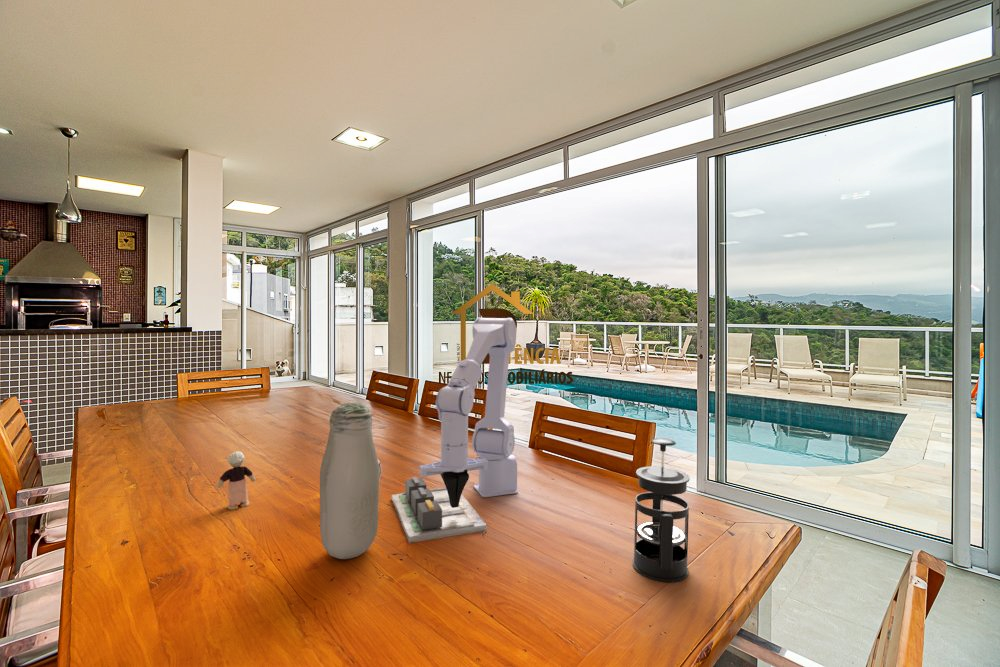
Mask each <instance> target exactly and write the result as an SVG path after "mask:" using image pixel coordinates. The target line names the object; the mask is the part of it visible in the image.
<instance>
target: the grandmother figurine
mask: <svg viewBox="0 0 1000 667" xmlns="http://www.w3.org/2000/svg"><path fill="white" fill-rule="evenodd" d="M244 461H245V455H244V454H243V452H242V451H239V450H238V451H234V452H232V453H230V454H229V456H228V458H227V462H228V464H229V465H230V466H231V467H232V468H230V469H228V470H226V471H224V473H222V475H221V476H220V478H219V481H218V483H217V485H216V487H217V488H219V489H221V488H222V487H223V485H224V483H225V482H227V481H228V484H227V485H228V488H227V489H228V495H227V496H228V505H227V509H229V510H231V511H233V510H237V509H238V508H239V506H240V507H241V508H243V507H244V508H245V507H248V506H249V505H250V501H249V499H248V486H247V481H246V480H247V479H246V478H245V476H246V477H248V479H250V481H251V482H253V483H254V482H255V481H256V480H257V479H256V477H255V476H254V474H253V471H251V470H250V469H249V467H247V466H242V465H243V462H244ZM238 504H239V506H238Z"/></svg>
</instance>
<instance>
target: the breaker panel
mask: <svg viewBox="0 0 1000 667" xmlns="http://www.w3.org/2000/svg"><path fill="white" fill-rule="evenodd" d="M428 489H429V490H430V491H431V493H432V494H433V496H434V501H437V503H438V504H439V506H440V507H441V509H442V527H438V528H431V529H425V530H422V528H421V526H420V524H419V522H418V515H415V513H414V511H413V509H412V507H411V502H409V501H408V499H407V497H406V495H405V491H404V492H402V493H396V494H391V501H393V502H392V504H393V507H394V506H395V507H394V509H395V512H396V514H397V517H398V519H399V522H400V521H401V522H400V524H401V526H402V529H403V531H404V533H405V537H406V539H407V542H408V544H410V543H411V542H412V543H418V542H424V541H429V540H430V541H431V540H437V539H442V538H449V537H455V536H460V535H461V536H462V535H468V534H474V533H479V532H486V531H487V523H485V521H484V520H483V518H481V516H480V515H479V514H478V512H477V511H476V510H475V509H474V507H473V506H472V505H471V504H470V502H469V501H468V500H467V499H466V497H464V495H463V493H462V494H461V497H460V501H459V507H455V508H452V507H451V505H450V501H449V496H448V492H447V489H446V486H445V487H437V488H428Z"/></svg>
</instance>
